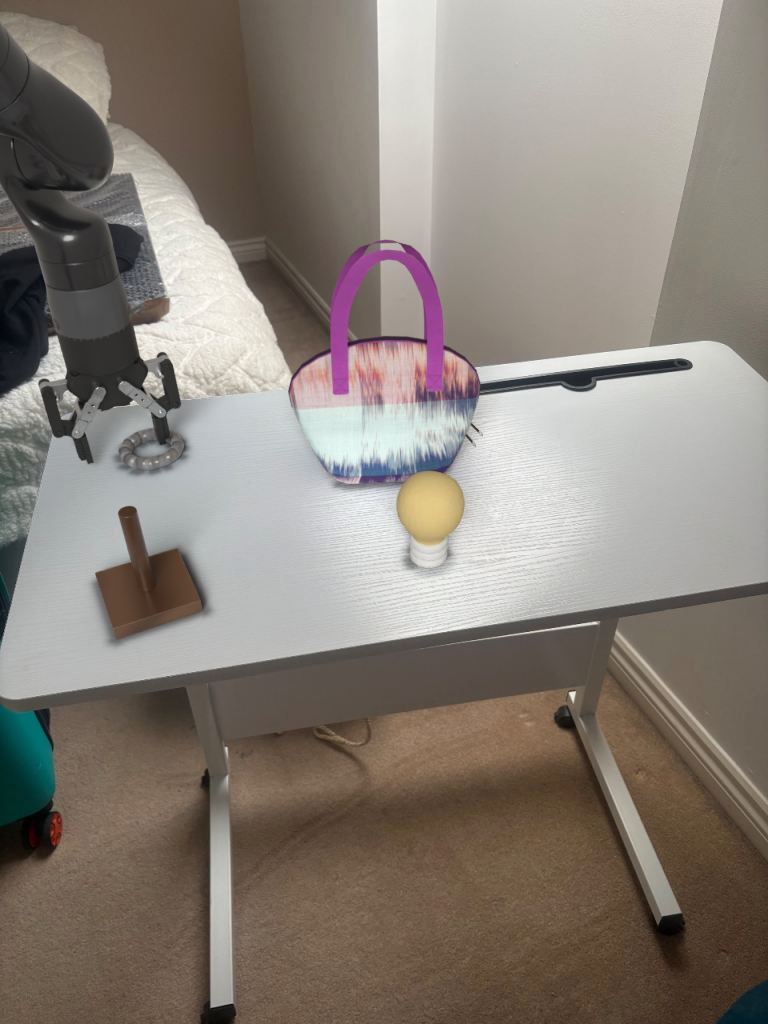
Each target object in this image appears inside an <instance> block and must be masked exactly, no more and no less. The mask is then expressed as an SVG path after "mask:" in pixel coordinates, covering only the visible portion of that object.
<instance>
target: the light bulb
mask: <svg viewBox="0 0 768 1024" xmlns="http://www.w3.org/2000/svg"><path fill="white" fill-rule="evenodd" d="M397 493H398V494H397V496H396V502H395V507H396V509H395V510H396V514H397V517H398V520H399V521H400V523H401V525H402V526H403V528H404V529H405V530H406V531H407V532H408V534H409V552H408V553H409V555H408V556H409V559H410V560H411V562H412V563H413V564H414V565H415V566H418V567H420V568H425V569H434V568H437V567H440V566H441V565H443V564H444V563H445V562H446V560H447V559H448V549H449V535H450V534H452V533H453V532H454V531H455V530H456V529H457V527H458V526H459V525H460V524H461V522H462V519H463V517H464V513H465V506H466V504H465V503H466V502H465V497H464V492H463V490H462V487H461V486H460V484H459V483H458V481H457V479H455V478H454V477H452V476H450V475H449V474H447V473H445V472H444V473H440V472H436V471H422V472H418V473H416V474H414V475H412V476H411V477H410V478H408V479H407V480H406V482H403V484H402V486H401V487H400V489H399V491H398V492H397Z"/></svg>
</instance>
